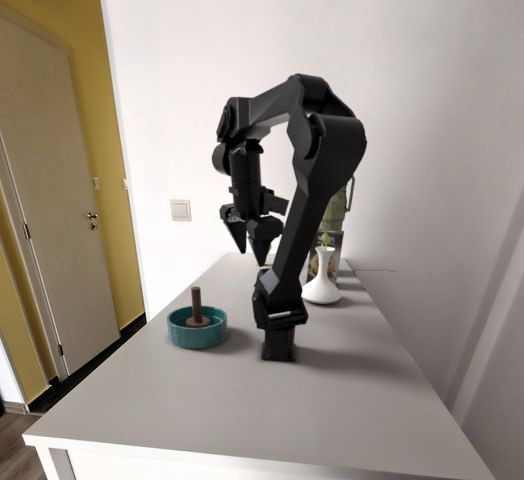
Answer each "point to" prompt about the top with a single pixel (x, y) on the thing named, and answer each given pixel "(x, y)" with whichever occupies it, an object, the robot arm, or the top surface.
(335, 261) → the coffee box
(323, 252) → the flower in vase
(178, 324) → the bowl
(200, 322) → the brown peg stamp
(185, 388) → the top surface
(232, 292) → the top surface
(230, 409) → the top surface
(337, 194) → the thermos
